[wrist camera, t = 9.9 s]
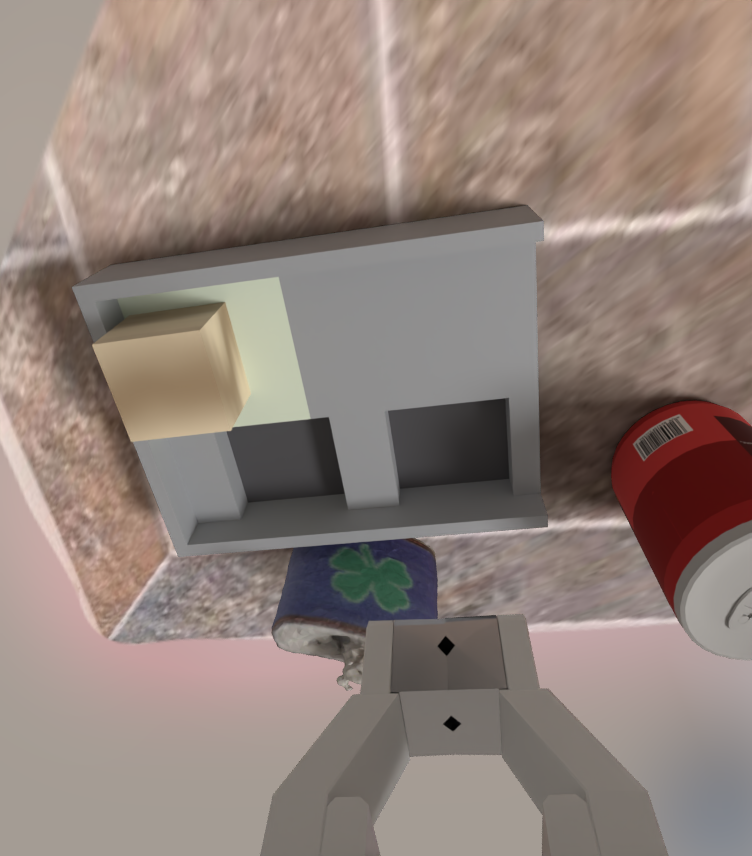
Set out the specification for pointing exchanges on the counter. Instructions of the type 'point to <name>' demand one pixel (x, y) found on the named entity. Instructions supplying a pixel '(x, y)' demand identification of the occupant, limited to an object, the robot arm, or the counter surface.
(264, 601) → the counter surface
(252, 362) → the grey compartment tray
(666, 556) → the canned food
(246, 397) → the maple block
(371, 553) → the flask
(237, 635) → the counter surface
